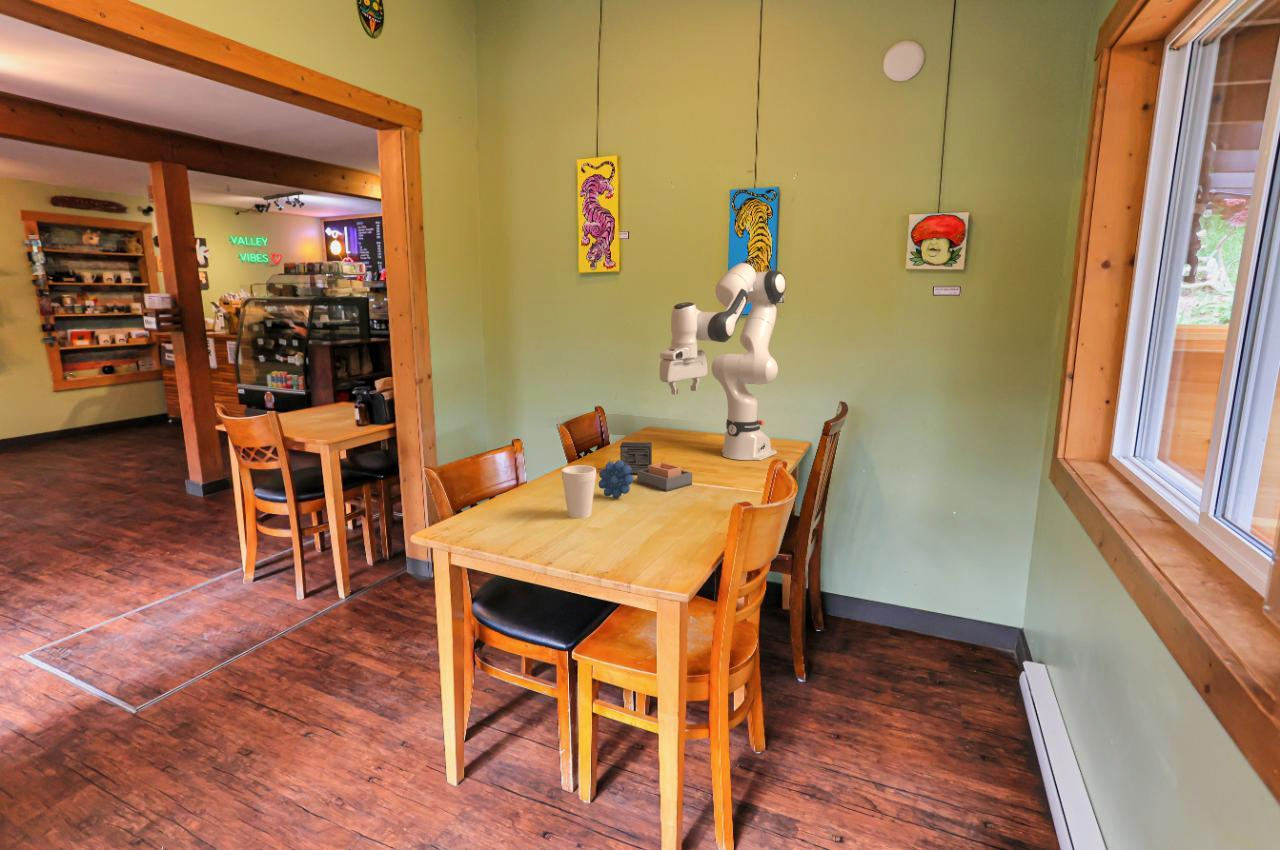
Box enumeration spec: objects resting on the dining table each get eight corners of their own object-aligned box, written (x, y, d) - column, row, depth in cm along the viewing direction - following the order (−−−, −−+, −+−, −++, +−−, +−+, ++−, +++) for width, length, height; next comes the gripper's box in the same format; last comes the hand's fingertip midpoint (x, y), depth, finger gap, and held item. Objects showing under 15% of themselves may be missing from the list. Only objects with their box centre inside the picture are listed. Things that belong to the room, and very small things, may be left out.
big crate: (662, 476, 217) (662, 464, 216) (692, 484, 207) (692, 472, 207) (637, 482, 210) (637, 470, 209) (666, 491, 200) (666, 479, 199)
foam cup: (569, 522, 172) (568, 475, 170) (557, 512, 180) (556, 467, 178) (602, 516, 177) (601, 471, 174) (588, 507, 185) (588, 463, 182)
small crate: (661, 476, 214) (661, 462, 213) (681, 482, 207) (681, 467, 206) (648, 480, 210) (648, 465, 209) (667, 485, 203) (668, 470, 202)
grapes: (639, 496, 195) (639, 458, 192) (629, 503, 189) (629, 463, 186) (605, 492, 199) (605, 454, 197) (595, 498, 193) (594, 459, 191)
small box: (652, 471, 224) (652, 441, 222) (650, 476, 218) (650, 445, 216) (622, 470, 225) (622, 441, 223) (619, 475, 219) (619, 445, 217)
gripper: (698, 348, 224) (698, 387, 227) (656, 353, 211) (656, 395, 214) (711, 349, 220) (711, 389, 223) (669, 355, 206) (670, 397, 209)
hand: (684, 392), depth 218 cm, fingers open, 8 cm apart
